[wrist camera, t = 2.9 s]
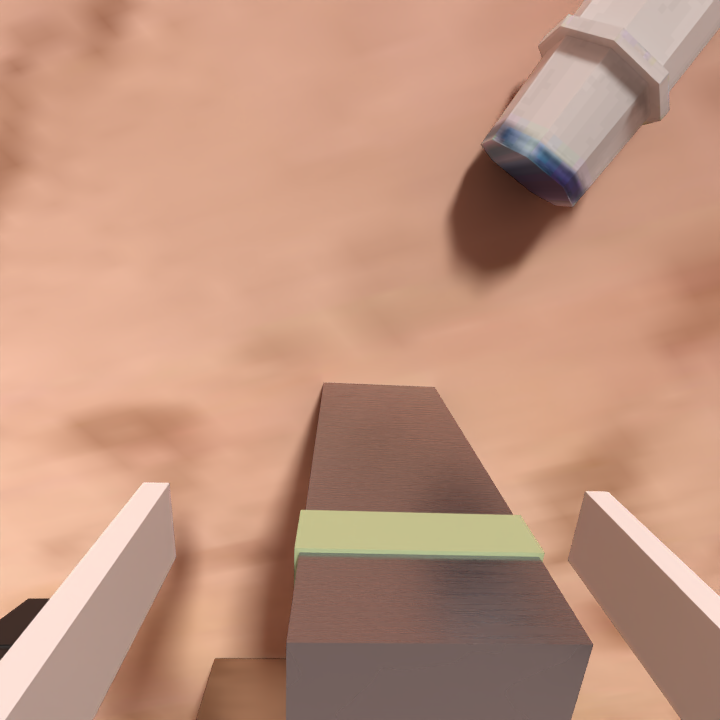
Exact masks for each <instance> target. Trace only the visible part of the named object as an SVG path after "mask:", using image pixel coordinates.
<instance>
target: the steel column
mask: <svg viewBox="0 0 720 720" xmlns="http://www.w3.org/2000/svg"><path fill="white" fill-rule="evenodd" d="M543 558H544V551H543V550H542V548H541V547H540V545H539V543H538V542H537V540H536V539H535V537H534V536H533V534H532V533H531V531H530V529H529V528H528V526H527V525H526V523H525V522H524V520H523V519H522V517H521V515H513V514H512V512H511V510H510V509H509V507H508V506H507V504H506V502H505V501H504V499H503V498H502V496H501V494H500V493H499V491H498V489H497V488H496V486H495V485H494V483H493V481H492V480H491V478H490V476H489V475H488V473H487V472H486V470H485V468H484V467H483V465H482V463H481V462H480V460H479V459H478V457H477V455H476V454H475V452H474V450H473V449H472V447H471V446H470V444H469V442H468V441H467V439H466V438H465V436H464V434H463V433H462V431H461V429H460V428H459V426H458V425H457V423H456V421H455V420H454V418H453V416H452V415H451V413H450V412H449V410H448V408H447V407H446V405H445V403H444V402H443V400H442V399H441V397H440V395H439V394H438V392H437V390H436V389H435V387H415V386H391V385H367V384H342V383H324V384H323V391H322V398H321V405H320V412H319V419H318V426H317V433H316V440H315V447H314V454H313V461H312V468H311V475H310V482H309V489H308V496H307V502H306V509H305V510H301V511H300V517H299V523H298V529H297V535H296V542H295V548H294V593H293V600H292V607H291V614H290V621H289V628H288V635H287V642H286V720H571V718H572V714H573V711H574V708H575V704H576V701H577V698H578V694H579V691H580V688H581V684H582V681H583V677H584V674H585V671H586V667H587V664H588V661H589V657H590V654H591V650H592V647H593V643H592V642H591V640H590V639H589V637H588V635H587V634H586V632H585V630H584V629H583V627H582V626H581V624H580V622H579V621H578V619H577V617H576V616H575V614H574V613H573V611H572V609H571V608H570V606H569V605H568V603H567V601H566V600H565V598H564V596H563V595H562V593H561V592H560V590H559V588H558V587H557V585H556V583H555V582H554V580H553V579H552V577H551V575H550V574H549V572H548V570H547V569H546V567H545V566H544V564H543Z"/></svg>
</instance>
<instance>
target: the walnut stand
mask: <svg viewBox="0 0 720 720" xmlns="http://www.w3.org/2000/svg"><path fill="white" fill-rule="evenodd" d="M196 720H286V659H215V660H214V663H213V666H212V670H211V673H210V676H209V679H208V683H207V686H206V689H205V692H204V696H203V699H202V702H201V705H200V708H199V712H198V715H197V718H196Z"/></svg>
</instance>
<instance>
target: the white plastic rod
mask: <svg viewBox="0 0 720 720" xmlns="http://www.w3.org/2000/svg"><path fill="white" fill-rule="evenodd" d="M719 28H720V0H584V1H583V3H582V4H581V5H580V7H579V8H578V10H577V11H576V12H575V14H574V15H570V14H568V15H567V16H566V17H565V18H564V19H563V20H562V21H561V22H560V23H558V24H557V25H556V26H555V27H554V28H553V29H552V30H551V31H550V32H549V33H548V34H547V35H545V37H544V38H543V39H542V41H541V42H540V44H539V45H538V48H539V51H540V53H541V56H542V59H541V60H540V62H539V63H538V64H537V66H536V67H535V69H534V70H533V71H532V73H531V74H530V76H529V77H528V79H527V80H526V81H525V83H524V84H523V86H522V87H521V88H520V90H519V91H518V93H517V94H516V95H515V97H514V98H513V100H512V101H511V102H510V104H509V105H508V107H507V108H506V110H505V111H504V112H503V114H502V115H501V117H500V118H499V119H498V121H497V122H496V124H495V125H494V126H493V128H492V129H491V131H490V132H489V133H488V135H487V136H486V138H485V139H484V140H483V142H482V143H481V145H482V147H483V148H484V150H485V151H486V152H487V154H488V155H489V156H490V158H491V159H492V160H493V161H494V162H495V163H496V164H498V165H499V166H500V167H501V168H503V169H504V170H505V171H506V172H507V173H509V174H510V175H511V176H512V177H514V178H515V179H516V180H517V181H518V182H520V183H521V184H522V185H523V186H524V187H526V188H527V189H528V190H529V191H531V192H532V193H534V194H536V195H537V196H539V197H541V198H543V199H544V200H546V201H548V202H550V203H552V204H553V205H557V206H568V207H573V206H574V205H575V204H576V203H577V201H578V200H579V199H580V198H581V197H582V195H583V194H584V193H585V192H586V191H587V189H588V188H589V187H590V186H591V185H592V184H593V182H594V181H595V180H596V179H597V178H598V176H599V175H600V174H601V173H602V172H603V171H604V169H605V168H606V167H607V166H608V165H609V163H610V162H611V161H612V160H613V159H614V157H615V156H616V155H617V154H618V153H619V152H620V150H621V149H622V148H623V147H624V146H625V144H626V143H627V142H628V141H629V140H630V139H631V137H632V136H633V135H634V134H635V133H636V131H637V130H638V129H639V128H640V127H641V125H645V124H649V123H653V122H657V121H661V120H662V118H663V117H664V116H665V115H666V114H667V113H668V111H669V91H670V90H671V89H672V88H673V86H674V85H675V84H676V83H677V81H678V80H679V79H680V77H681V76H682V75H683V74H684V72H685V71H686V70H687V69H688V67H689V66H690V65H691V63H692V62H693V61H694V60H695V58H696V57H697V56H698V55H699V53H700V52H701V51H702V49H703V48H704V47H705V46H706V44H707V43H708V42H709V41H710V39H711V38H712V37H713V36H714V34H715V33H716V32H717V30H718V29H719Z"/></svg>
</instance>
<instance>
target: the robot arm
mask: <svg viewBox="0 0 720 720" xmlns="http://www.w3.org/2000/svg"><path fill="white" fill-rule="evenodd" d="M175 559H176V549H175V538H174V527H173V516H172V505H171V494H170V483H144V482H143V484H142V485H141V486H140V487H139V489H138V490H137V491H136V492H135V494H134V495H133V496H132V497H131V499H130V500H129V501H128V502H127V504H126V505H125V506H124V507H123V508H122V510H121V511H120V512H119V513H118V515H117V516H116V517H115V518H114V520H113V521H112V522H111V523H110V525H109V526H108V527H107V528H106V530H105V531H104V532H103V533H102V535H101V536H100V537H99V538H98V540H97V541H96V542H95V543H94V545H93V546H92V547H91V548H90V550H89V551H88V552H87V553H86V555H85V556H84V557H83V558H82V560H81V561H80V562H79V563H78V565H77V566H76V567H75V568H74V570H73V571H72V572H71V573H70V574H69V576H68V577H67V578H66V579H65V581H64V582H63V583H62V584H61V586H60V587H59V588H58V589H57V591H56V592H55V593H54V594H53V596H52V597H51V598H50V599H27V600H26V601H25V602H23V603H22V604H21V605H19V606H18V607H17V608H15V609H14V610H12V611H11V612H10V613H8V614H7V615H6V616H4V617H3V618H2V619H0V720H93V719H94V717H95V715H96V713H97V711H98V709H99V707H100V705H101V703H102V701H103V699H104V697H105V696H106V694H107V692H108V690H109V688H110V686H111V684H112V682H113V680H114V678H115V676H116V674H117V672H118V670H119V668H120V666H121V664H122V662H123V660H124V658H125V656H126V654H127V652H128V651H129V649H130V647H131V645H132V643H133V641H134V639H135V637H136V635H137V633H138V631H139V629H140V627H141V625H142V623H143V621H144V619H145V617H146V615H147V613H148V611H149V609H150V607H151V606H152V604H153V602H154V600H155V598H156V596H157V594H158V592H159V590H160V588H161V586H162V584H163V582H164V580H165V578H166V576H167V574H168V572H169V570H170V568H171V566H172V564H173V562H174V561H175ZM568 561H569V563H570V564H571V566H572V567H573V568H574V570H575V571H576V573H577V574H578V575H579V577H580V578H581V580H582V581H583V582H584V584H585V585H586V587H587V588H588V589H589V591H590V592H591V594H592V595H593V596H594V598H595V599H596V601H597V602H598V603H599V605H600V606H601V608H602V609H603V610H604V612H605V613H606V615H607V616H608V617H609V619H610V620H611V622H612V623H613V624H614V626H615V627H616V629H617V630H618V631H619V633H620V634H621V636H622V637H623V638H624V640H625V641H626V643H627V644H628V645H629V647H630V648H631V650H632V651H633V653H634V654H635V655H636V657H637V658H638V660H639V661H640V662H641V664H642V665H643V667H644V668H645V669H646V671H647V672H648V674H649V675H650V676H651V678H652V679H653V681H654V682H655V683H656V685H657V686H658V688H659V689H660V690H661V692H662V693H663V695H664V696H665V697H666V699H667V700H668V702H669V703H670V704H671V706H672V707H673V709H674V710H675V711H676V713H677V714H678V716H679V717H680V718H681V720H720V596H718V595H717V594H716V593H715V592H714V591H713V590H712V589H711V588H710V587H709V586H708V585H707V584H706V583H705V582H704V581H703V580H701V579H700V578H699V577H698V576H697V575H696V574H695V573H694V572H693V571H692V570H691V569H690V568H689V567H688V566H687V565H685V564H684V563H683V562H682V561H681V560H680V559H679V558H678V557H677V556H676V555H675V554H674V553H673V552H672V551H671V550H669V549H668V548H667V547H666V546H665V545H664V544H663V543H662V542H661V541H660V540H659V539H658V538H657V537H656V536H655V535H654V534H652V533H651V532H650V531H649V530H648V529H647V528H646V527H645V526H644V525H643V524H642V523H641V522H640V521H639V520H638V519H636V518H635V517H634V516H633V515H632V514H631V513H630V512H629V511H628V510H627V509H626V508H625V507H624V506H623V505H622V504H620V503H619V502H618V501H617V500H616V499H615V498H614V497H613V496H612V495H611V494H610V493H609V492H599V491H585V494H584V498H583V502H582V506H581V510H580V514H579V518H578V522H577V526H576V530H575V534H574V537H573V541H572V545H571V549H570V553H569V557H568Z"/></svg>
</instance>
